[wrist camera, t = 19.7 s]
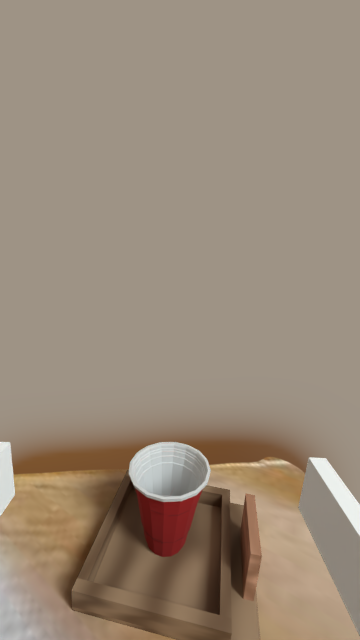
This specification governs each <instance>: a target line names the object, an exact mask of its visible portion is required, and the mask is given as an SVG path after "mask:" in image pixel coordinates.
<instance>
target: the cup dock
mask: <svg viewBox="0 0 360 640" xmlns="http://www.w3.org/2000/svg"><path fill="white" fill-rule="evenodd" d="M261 557H262V555H261V546H260V538H259V529H258V521H257V512H256V504H255V495H250V494H246V496H245V502H244V505H239V504H234V503H230V490H227V489H222V488H217V487H212V486H207V485H206V486H205V487H204V488H203V490H202V493H201V495H200V498H199V501H198V503H197V506H196V510H195V513H194V517H193V520H192V523H191V527H190V530H189V531H188V534H187V538H186V541H185V544H184V545H183V547H182V548H181V550H180V551H179V552H178V553H177V554H175V555H173V556H171V557H161V556H159V555H156V554H154V553H153V552H152V551H151V550H150V549H149V547H148V544H147V542H146V539H145V536H144V529H143V525H142V522H141V516H140V510H139V504H138V498H137V494H136V490H135V487H134V485H133V483H132V481H131V478H130V476H129V471H128V470H127V472H126V475H125V477H124V479H123V481H122V483H121V485H120V487H119V490H118V492H117V494H116V496H115V498H114V500H113V502H112V505H111V507H110V509H109V511H108V513H107V515H106V518H105V520H104V522H103V524H102V526H101V528H100V530H99V533H98V535H97V537H96V539H95V541H94V543H93V545H92V548H91V550H90V552H89V554H88V556H87V558H86V560H85V563H84V565H83V567H82V569H81V571H80V573H79V575H78V578H77V580H76V582H75V584H74V586H73V588H72V610H74V611H78V612H81V613H85V614H88V615H92V616H95V617H99V618H103V619H106V620H110V621H113V622H117V623H120V624H124V625H128V626H131V627H135V628H138V629H142V630H145V631H149V632H153V633H156V634H160V635H163V636H167V637H170V638H174V639H177V640H260V630H259V618H258V607H257V596H256V585H257V580H258V574H259V568H260V563H261Z"/></svg>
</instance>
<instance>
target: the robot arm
mask: <svg viewBox="0 0 360 640" xmlns="http://www.w3.org/2000/svg"><path fill="white" fill-rule="evenodd" d="M14 495H15V489H14V478H13V468H12V458H11V447H10V442H0V516H1V514H2V513H3V511H4V510H5V508H6V507H7V505H8V504H9V503H10V501H11V500H12V498H13V497H14ZM298 508H299V510H300V512H301V514H302V516H303V518H304V520H305V522H306V524H307V527H308V529H309V531H310V533H311V535H312V537H313V539H314V541H315V543H316V545H317V548H318V550H319V552H320V554H321V556H322V558H323V560H324V562H325V564H326V566H327V569H328V571H329V573H330V575H331V577H332V579H333V581H334V583H335V585H336V587H337V590H338V592H339V594H340V596H341V598H342V600H343V602H344V604H345V606H346V608H347V611H348V613H349V615H350V617H351V619H352V621H353V623H354V625H355V627H356V629H357V632H358V634H359V636H360V505H359V503H358V502H357V501H356V499H355V498H354V496H353V495H352V494H351V492H350V491H349V490H348V488H347V487H346V485H345V484H344V483H343V481H342V480H341V479H340V477H339V476H338V475H337V473H336V472H335V471H334V469H333V468H332V466H331V465H330V463H329V462H328V461H327V459H326V458H309V459H308V464H307V469H306V474H305V478H304V483H303V488H302V493H301V498H300V502H299V507H298Z"/></svg>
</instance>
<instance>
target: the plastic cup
mask: <svg viewBox="0 0 360 640" xmlns="http://www.w3.org/2000/svg"><path fill="white" fill-rule="evenodd" d="M210 471H211V470H210V467H209V463H208V460H207V459H206V458H205V457H204V456H203V454H201V452H200V451H198V450H196V449H195V448H193V447H191V446H189V445H186V444H181V443H177V442H160V443H156V444H153V445H149V446H147V447H146V448H144V449H142V450H140V451H139V452H137V453H136V455H135V456H134V457H133V459H132V460H131V462H130V468H129V476H130V478H131V481H132V483H133V485H134V487H135V490H136V494H137V498H138V504H139V510H140V516H141V522H142V525H143V529H144V536H145V539H146V542H147V544H148V547H149V549H150V550H151V551H152V552H153V553H154V554H156V555H159V556H161V557H171V556H173V555H175V554H177V553H178V552H179V551H180V550H181V548H182V547H183V545H184V544H185V541H186V538H187V534H188V531H189V530H190V527H191V523H192V520H193V517H194V513H195V510H196V506H197V503H198V501H199V498H200V495H201V493H202V490H203V488H204V487H205V486H206V485H207V482H208V479H209V475H210Z"/></svg>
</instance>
